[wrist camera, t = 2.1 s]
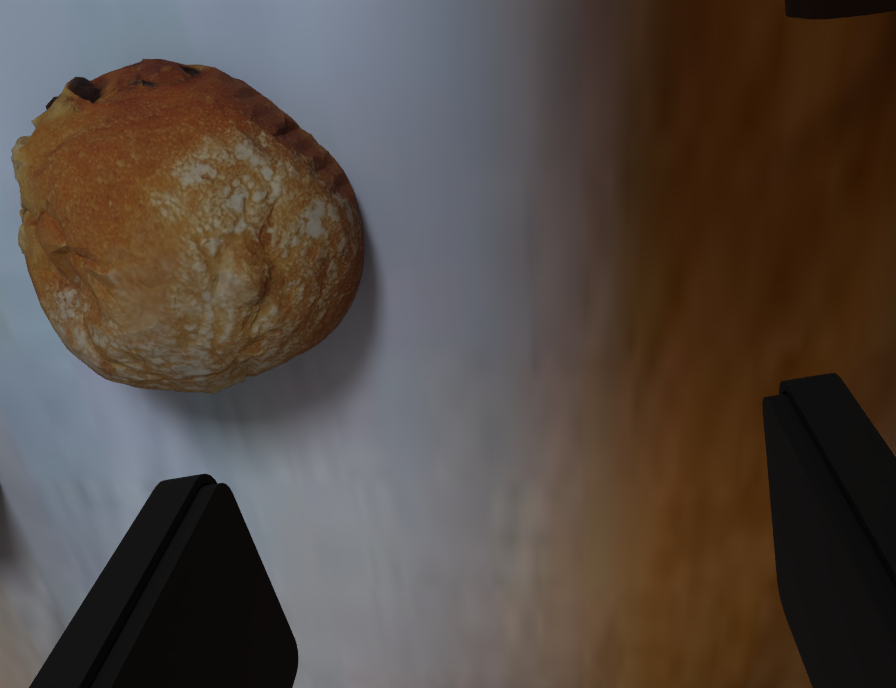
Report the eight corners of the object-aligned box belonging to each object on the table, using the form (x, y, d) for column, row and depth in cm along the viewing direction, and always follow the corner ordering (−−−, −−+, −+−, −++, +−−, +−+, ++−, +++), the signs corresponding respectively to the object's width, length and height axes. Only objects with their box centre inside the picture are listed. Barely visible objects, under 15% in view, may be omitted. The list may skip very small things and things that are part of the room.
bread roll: (195, 318, 33) (189, 491, 28) (-51, 147, 26) (-121, 337, 21) (400, 186, 30) (437, 353, 25) (185, -48, 23) (174, 117, 18)
